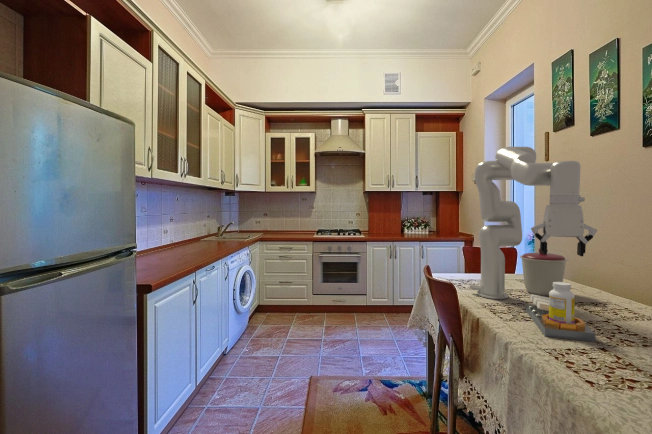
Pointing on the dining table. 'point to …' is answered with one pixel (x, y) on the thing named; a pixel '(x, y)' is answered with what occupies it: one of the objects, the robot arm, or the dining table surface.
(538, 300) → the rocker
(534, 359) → the dining table surface
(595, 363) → the dining table surface
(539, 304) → the bar
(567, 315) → the supplement bottle
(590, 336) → the panel
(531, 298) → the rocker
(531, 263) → the canister
